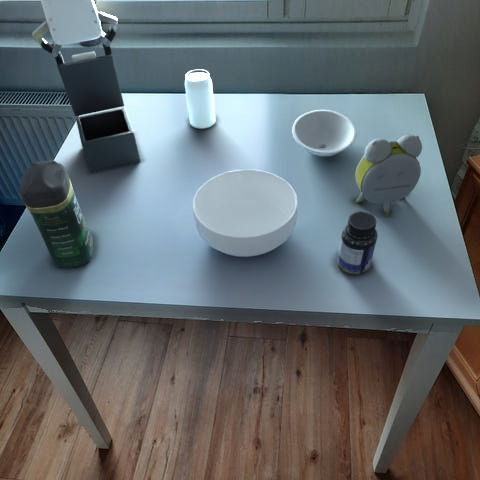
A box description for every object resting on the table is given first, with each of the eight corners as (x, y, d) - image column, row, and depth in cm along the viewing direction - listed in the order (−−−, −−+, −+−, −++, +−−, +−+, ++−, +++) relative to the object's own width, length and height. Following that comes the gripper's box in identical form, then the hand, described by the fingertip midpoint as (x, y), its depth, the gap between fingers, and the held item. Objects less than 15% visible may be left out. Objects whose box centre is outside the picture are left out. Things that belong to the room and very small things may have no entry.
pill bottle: (358, 249, 90) (369, 204, 82) (376, 271, 87) (388, 225, 78) (330, 259, 89) (337, 214, 80) (346, 281, 86) (356, 236, 77)
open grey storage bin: (141, 162, 111) (133, 132, 104) (92, 174, 109) (81, 143, 102) (132, 137, 117) (124, 106, 111) (85, 147, 115) (75, 117, 109)
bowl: (221, 194, 102) (218, 160, 95) (308, 215, 97) (311, 180, 90) (180, 255, 91) (174, 222, 85) (275, 282, 86) (276, 249, 80)
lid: (112, 56, 99) (107, 41, 102) (57, 67, 98) (53, 51, 100) (124, 106, 111) (119, 91, 113) (75, 116, 109) (71, 101, 111)
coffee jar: (94, 267, 91) (60, 187, 76) (52, 272, 90) (10, 193, 75) (96, 233, 96) (65, 153, 82) (57, 238, 96) (19, 158, 81)
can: (215, 115, 122) (210, 67, 112) (215, 129, 118) (211, 81, 108) (190, 117, 122) (183, 69, 112) (190, 131, 118) (183, 83, 108)
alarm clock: (402, 192, 100) (421, 126, 88) (414, 213, 96) (435, 147, 84) (349, 199, 99) (360, 134, 87) (359, 220, 95) (372, 155, 83)
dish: (358, 171, 105) (361, 151, 101) (293, 173, 105) (294, 154, 101) (348, 127, 115) (350, 108, 111) (289, 129, 116) (290, 110, 112)
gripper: (102, -39, 92) (123, 53, 106) (12, -24, 89) (46, 68, 103) (108, -27, 88) (129, 68, 101) (13, -11, 85) (48, 84, 99)
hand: (87, 68), depth 102 cm, fingers open, 9 cm apart
